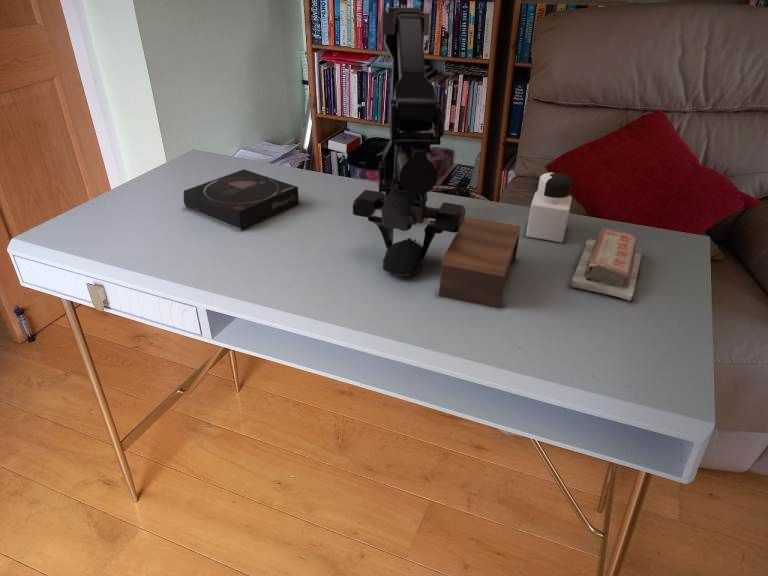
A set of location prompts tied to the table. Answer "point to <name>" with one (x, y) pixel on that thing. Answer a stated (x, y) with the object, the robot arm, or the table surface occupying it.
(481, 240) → the walnut wood stand
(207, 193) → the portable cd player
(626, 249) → the packaged product
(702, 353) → the table surface
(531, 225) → the medicine bottle
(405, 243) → the gaming mouse
